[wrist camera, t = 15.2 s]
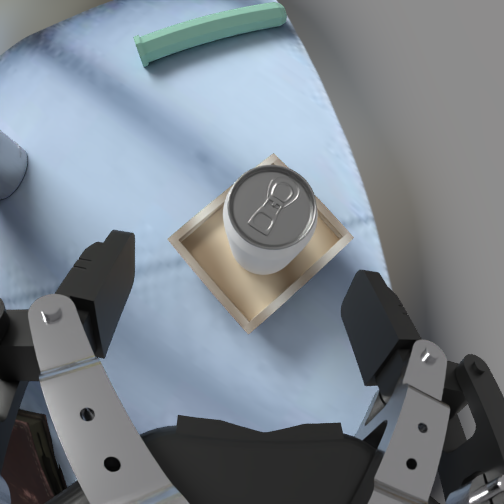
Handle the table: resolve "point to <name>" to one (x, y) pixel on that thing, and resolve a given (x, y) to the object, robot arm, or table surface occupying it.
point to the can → (269, 218)
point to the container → (208, 30)
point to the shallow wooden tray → (242, 281)
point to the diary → (31, 461)
